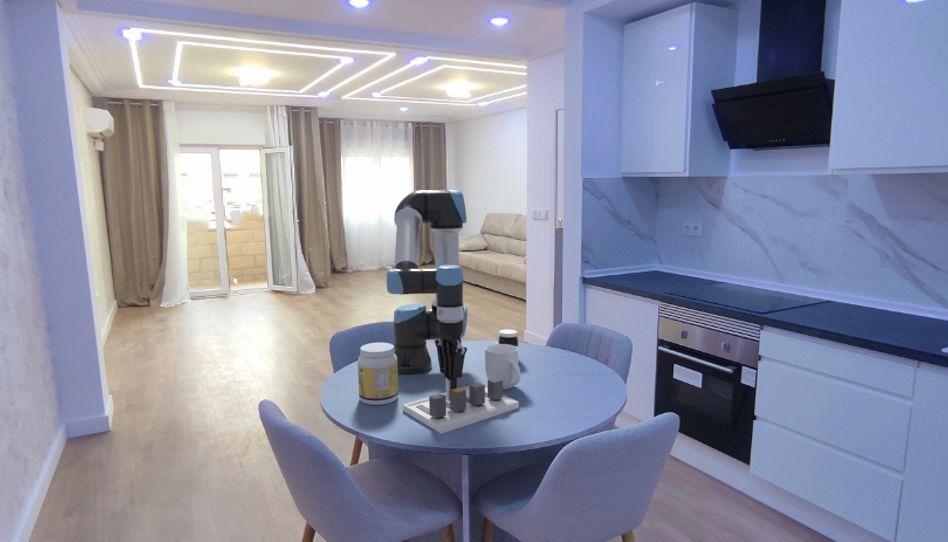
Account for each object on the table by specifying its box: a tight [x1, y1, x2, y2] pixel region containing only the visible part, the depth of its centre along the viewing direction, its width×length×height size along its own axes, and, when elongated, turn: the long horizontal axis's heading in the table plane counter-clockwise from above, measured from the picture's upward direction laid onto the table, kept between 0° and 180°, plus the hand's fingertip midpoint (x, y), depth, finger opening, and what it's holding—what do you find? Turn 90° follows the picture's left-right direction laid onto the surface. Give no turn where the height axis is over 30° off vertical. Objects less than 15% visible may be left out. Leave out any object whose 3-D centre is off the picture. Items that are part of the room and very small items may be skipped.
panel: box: [402, 385, 519, 435], centre depth 163 cm, size 20×28×2 cm
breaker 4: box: [487, 377, 504, 400], centre depth 166 cm, size 3×4×6 cm
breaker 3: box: [468, 382, 486, 406], centre depth 162 cm, size 3×4×6 cm
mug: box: [484, 343, 522, 391], centre depth 180 cm, size 15×11×13 cm
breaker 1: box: [429, 392, 446, 418], centre depth 153 cm, size 3×4×6 cm
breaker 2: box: [450, 387, 466, 412], centre depth 157 cm, size 3×4×6 cm
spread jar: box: [492, 329, 519, 349], centre depth 210 cm, size 12×11×12 cm
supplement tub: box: [357, 342, 399, 406], centre depth 171 cm, size 12×12×17 cm
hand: (451, 399), depth 160 cm, fingers closed
